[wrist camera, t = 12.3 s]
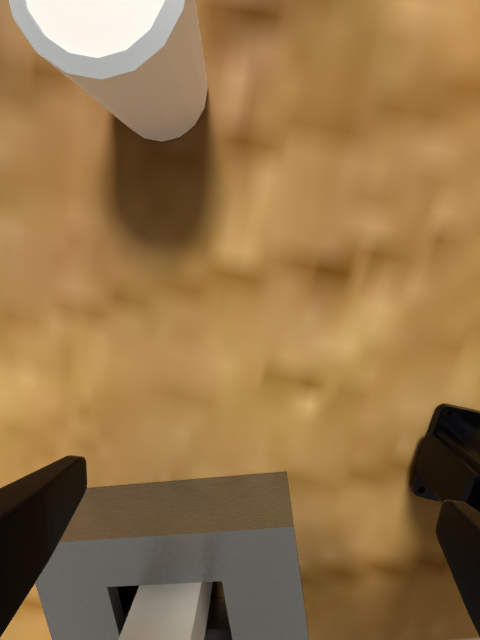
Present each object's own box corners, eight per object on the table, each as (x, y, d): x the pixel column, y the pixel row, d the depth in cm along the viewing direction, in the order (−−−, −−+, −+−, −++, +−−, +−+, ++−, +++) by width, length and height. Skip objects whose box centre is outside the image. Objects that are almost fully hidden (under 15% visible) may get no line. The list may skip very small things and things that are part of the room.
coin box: (286, 471, 20) (293, 527, 16) (304, 603, 22) (315, 686, 18) (71, 489, 22) (23, 544, 18) (103, 611, 24) (67, 690, 19)
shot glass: (193, 171, 18) (149, 107, 11) (88, 126, 18) (-22, 34, 11) (237, 49, 17) (219, -110, 10) (124, 1, 17) (27, -192, 10)
